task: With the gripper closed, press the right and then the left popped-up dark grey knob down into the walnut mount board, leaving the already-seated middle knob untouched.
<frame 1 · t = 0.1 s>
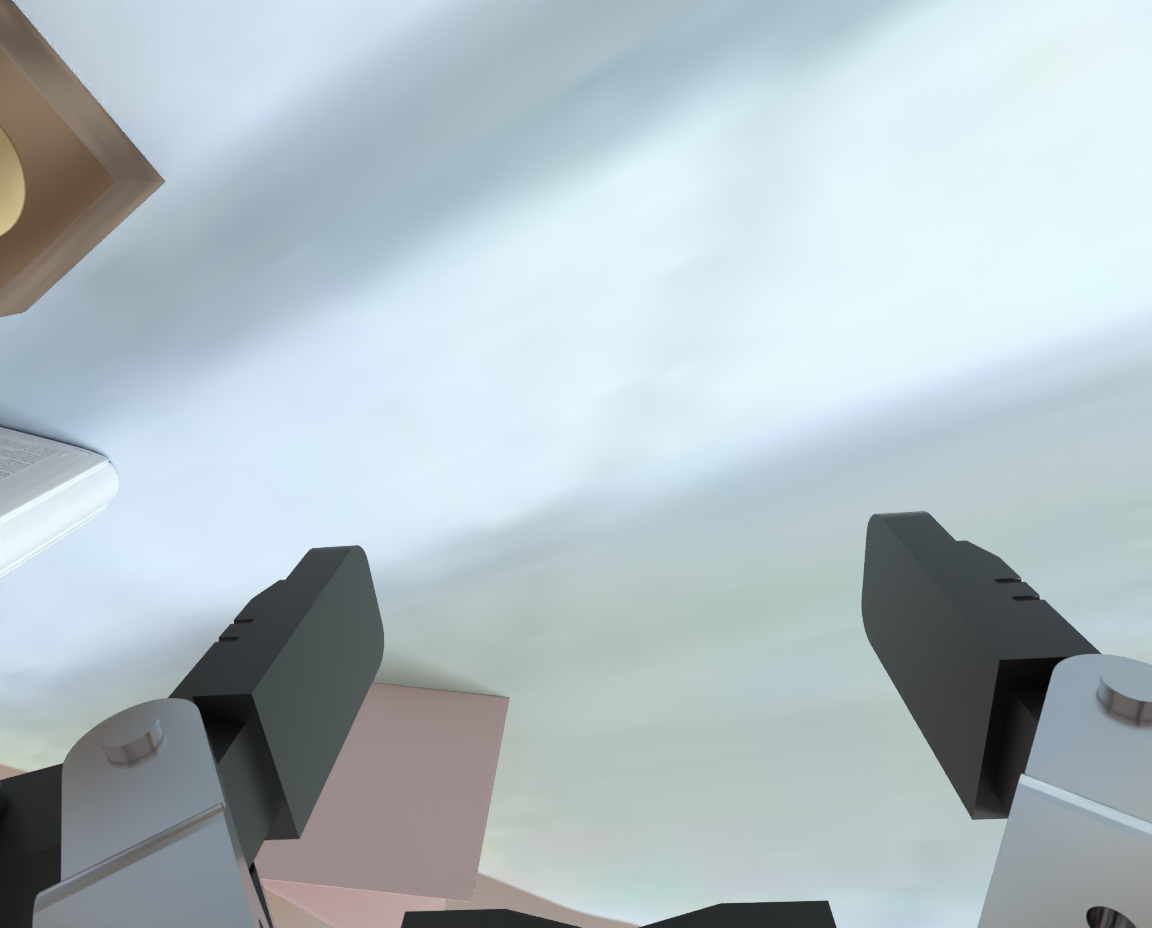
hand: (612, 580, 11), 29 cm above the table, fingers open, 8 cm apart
greeting card: (437, 698, 49), on the table
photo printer: (42, 461, 43), on the table
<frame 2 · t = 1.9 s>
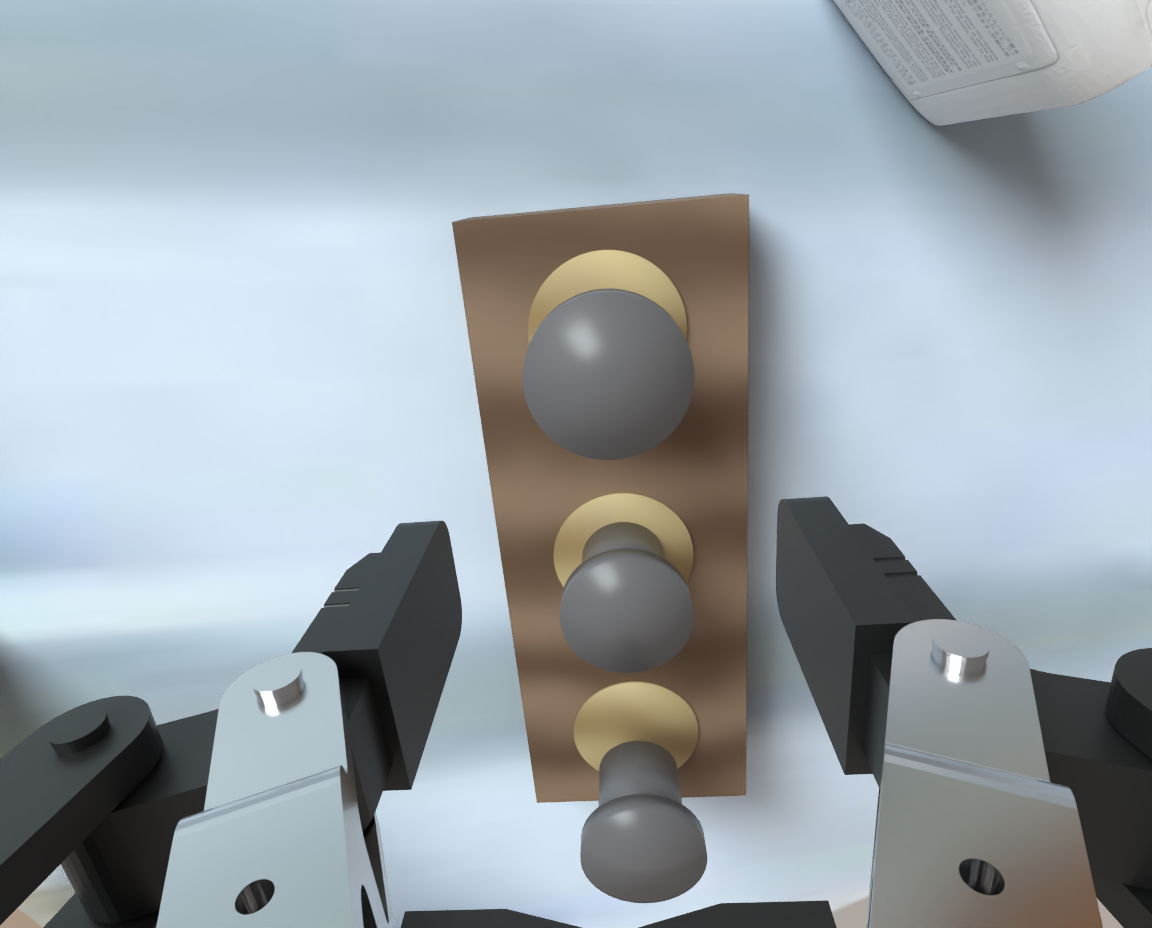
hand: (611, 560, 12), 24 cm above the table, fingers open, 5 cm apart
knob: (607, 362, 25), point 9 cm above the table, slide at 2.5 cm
mount board: (621, 518, 38), on the table
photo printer: (901, 8, 29), on the table
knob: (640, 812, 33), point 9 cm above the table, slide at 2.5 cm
middle knob: (624, 586, 31), point 7 cm above the table, slide at 0.0 cm
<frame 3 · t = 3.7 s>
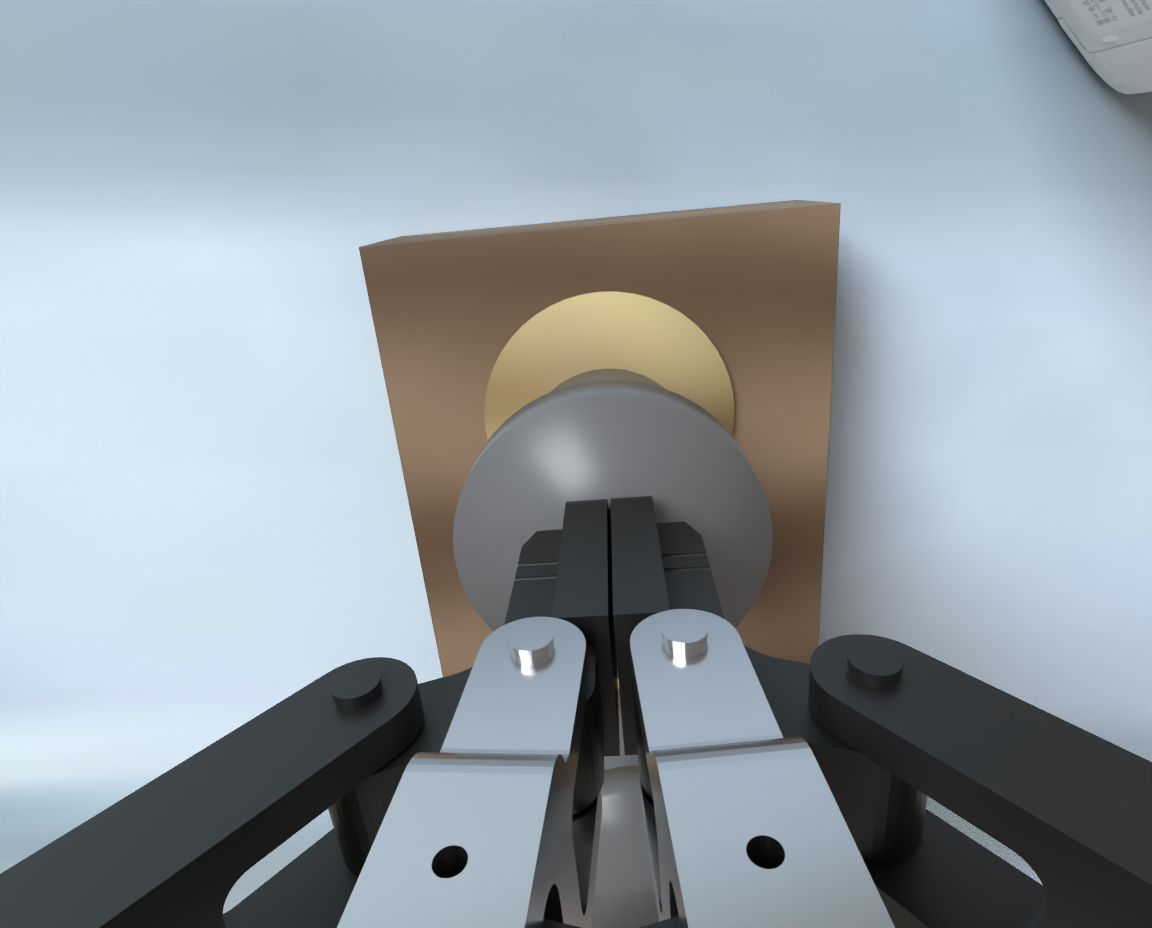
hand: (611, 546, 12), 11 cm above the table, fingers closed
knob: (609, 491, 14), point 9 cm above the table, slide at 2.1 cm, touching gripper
mount board: (627, 654, 27), on the table
middle knob: (635, 798, 21), point 7 cm above the table, slide at 0.0 cm
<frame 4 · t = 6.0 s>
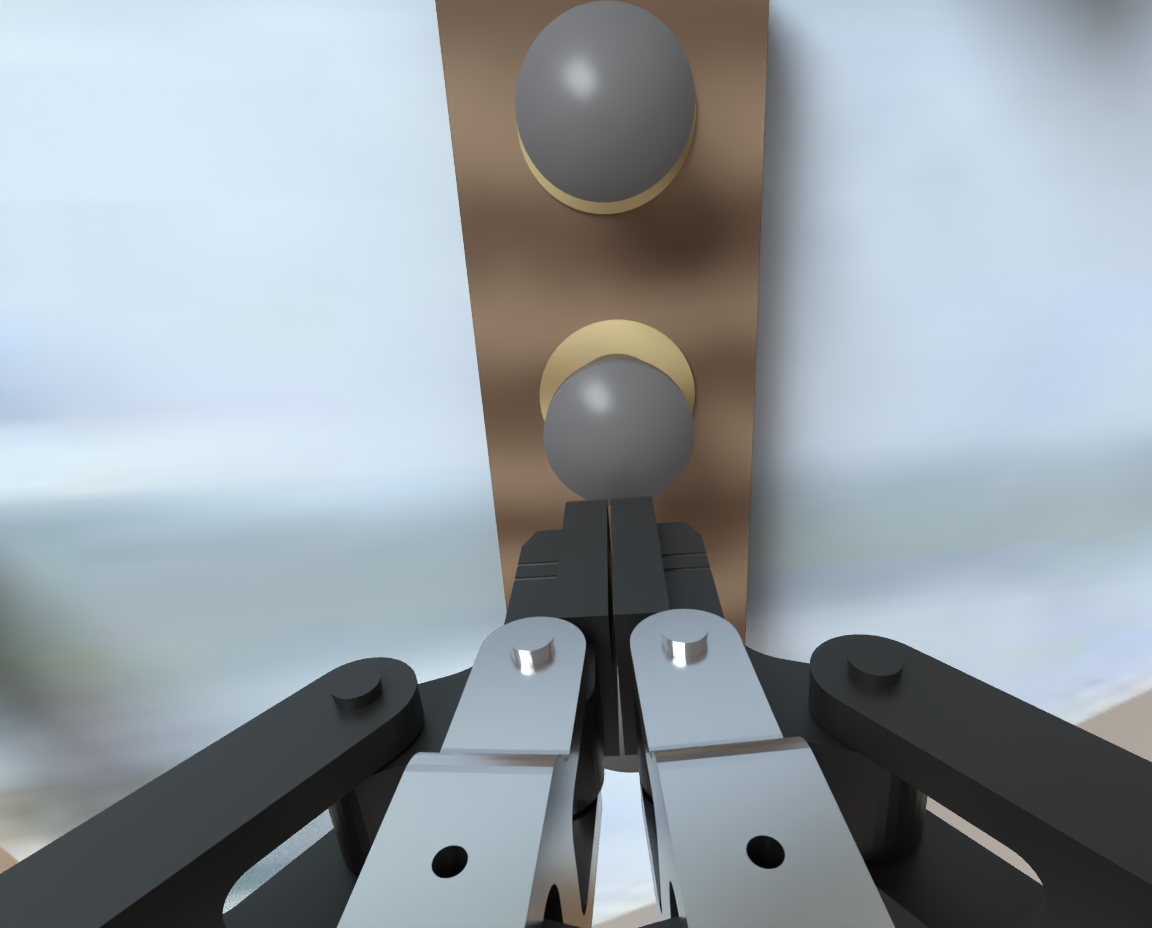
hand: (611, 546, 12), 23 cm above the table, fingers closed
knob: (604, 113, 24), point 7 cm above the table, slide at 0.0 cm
mount board: (615, 373, 34), on the table
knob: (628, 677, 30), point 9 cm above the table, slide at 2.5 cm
middle knob: (617, 416, 28), point 7 cm above the table, slide at 0.0 cm
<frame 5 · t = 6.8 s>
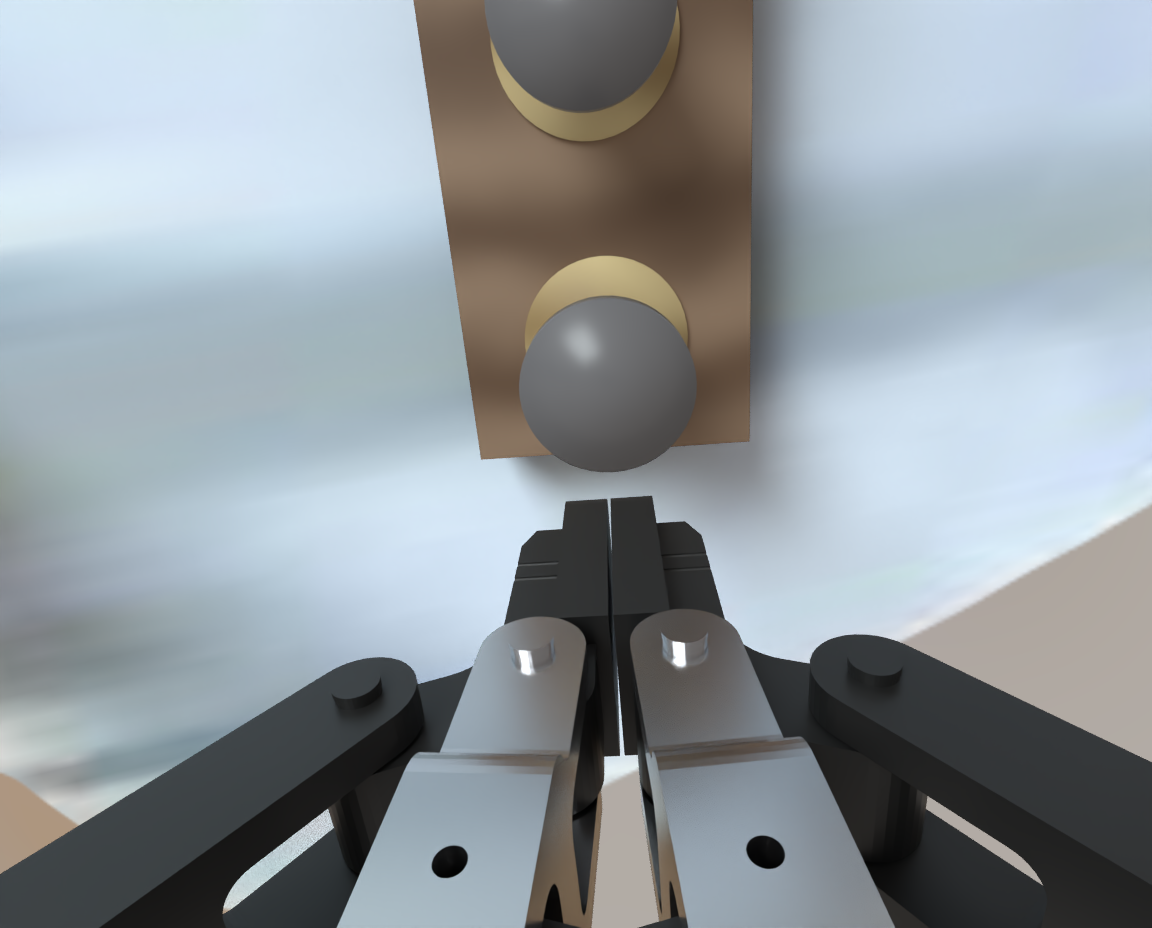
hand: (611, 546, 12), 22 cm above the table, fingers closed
mount board: (586, 56, 29), on the table
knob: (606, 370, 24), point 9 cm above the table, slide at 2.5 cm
middle knob: (582, 20, 22), point 7 cm above the table, slide at 0.0 cm
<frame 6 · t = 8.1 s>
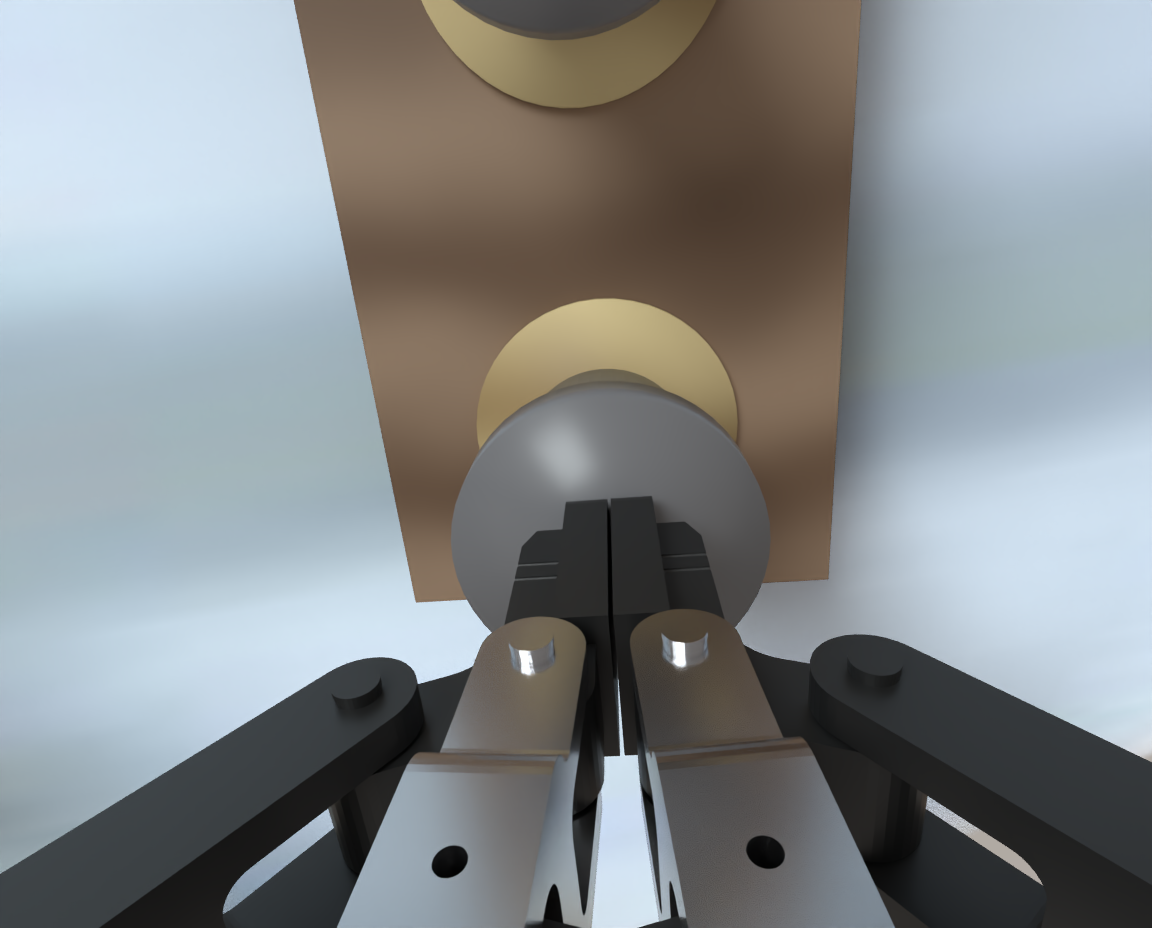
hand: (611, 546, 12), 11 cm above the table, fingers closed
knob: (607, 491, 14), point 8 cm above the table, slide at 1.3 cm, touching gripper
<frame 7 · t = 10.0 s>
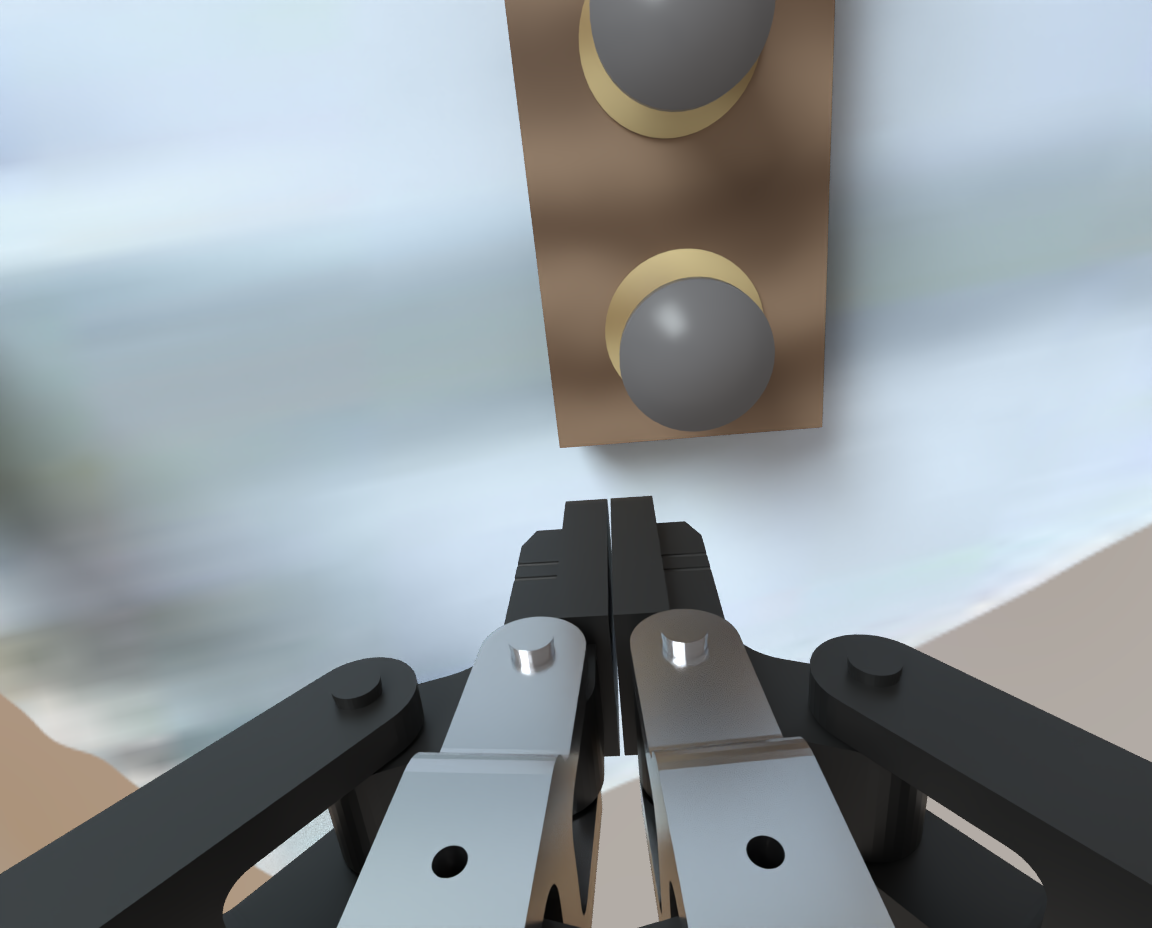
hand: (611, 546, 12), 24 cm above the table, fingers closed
mount board: (663, 55, 30), on the table
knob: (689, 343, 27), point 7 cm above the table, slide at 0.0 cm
middle knob: (675, 22, 23), point 7 cm above the table, slide at 0.0 cm
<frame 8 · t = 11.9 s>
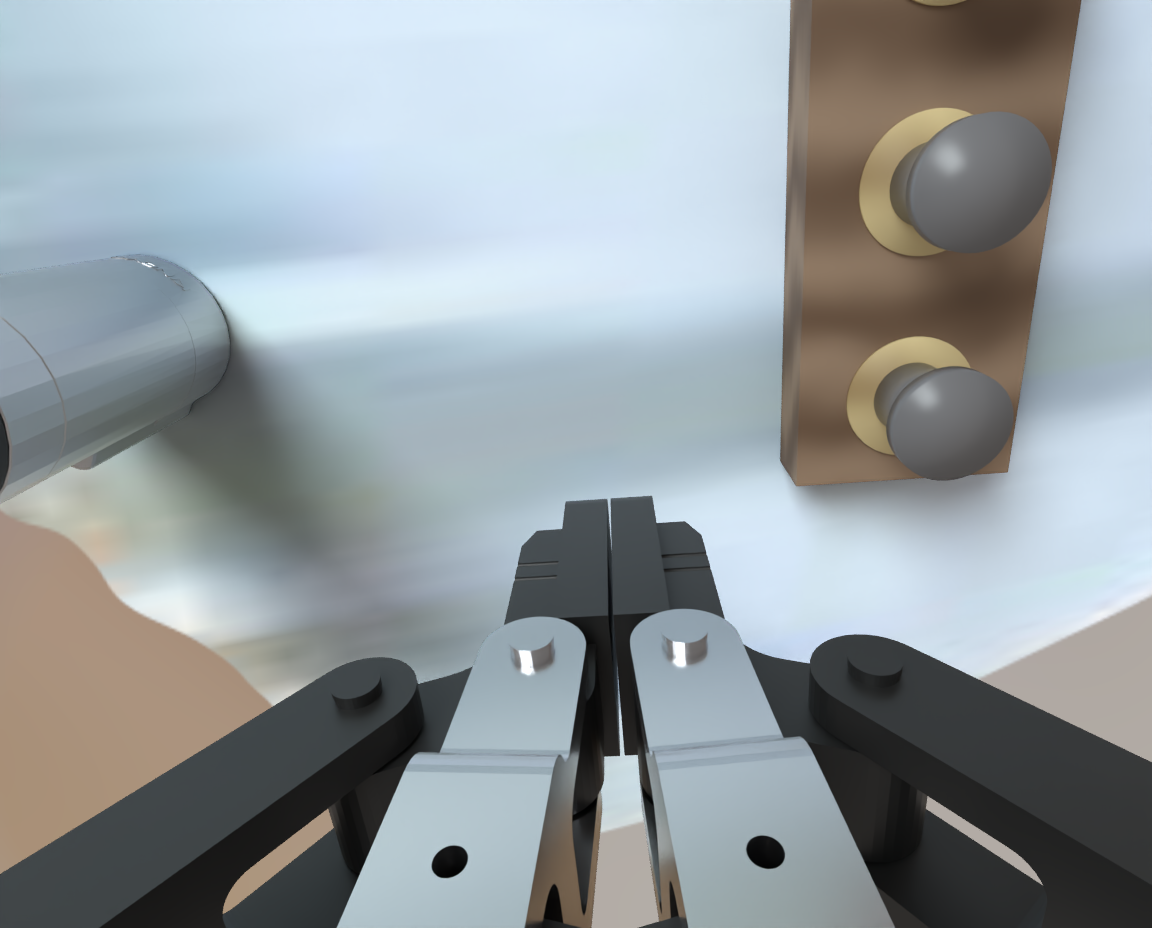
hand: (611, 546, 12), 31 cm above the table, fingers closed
mount board: (896, 184, 38), on the table
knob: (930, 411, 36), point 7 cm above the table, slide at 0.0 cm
middle knob: (955, 184, 32), point 7 cm above the table, slide at 0.0 cm
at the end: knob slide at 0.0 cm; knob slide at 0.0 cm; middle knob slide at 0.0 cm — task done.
